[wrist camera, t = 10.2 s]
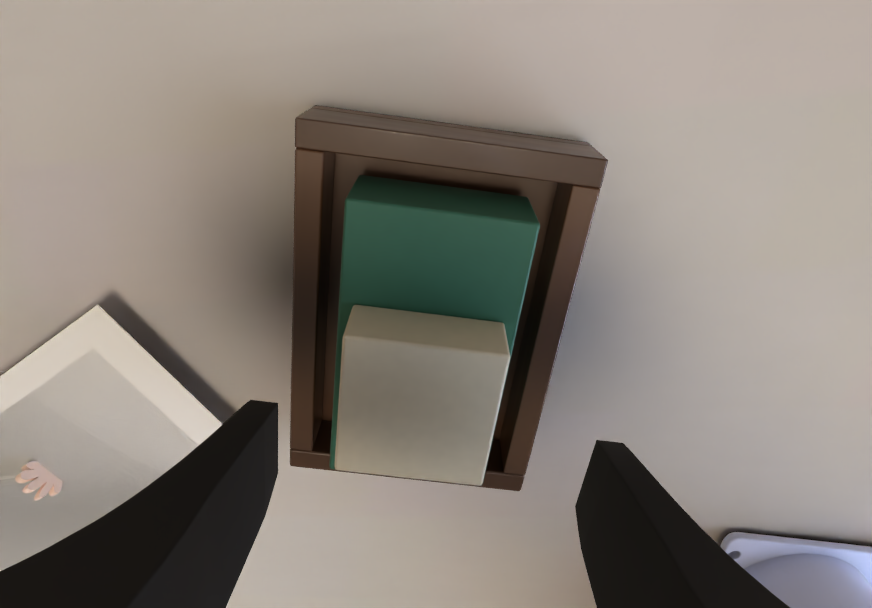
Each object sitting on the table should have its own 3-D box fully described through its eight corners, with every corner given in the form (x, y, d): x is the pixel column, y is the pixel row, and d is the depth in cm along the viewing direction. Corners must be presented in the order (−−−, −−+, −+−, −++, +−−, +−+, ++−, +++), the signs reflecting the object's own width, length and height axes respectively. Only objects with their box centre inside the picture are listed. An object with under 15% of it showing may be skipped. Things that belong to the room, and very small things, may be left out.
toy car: (477, 420, 21) (486, 531, 17) (345, 405, 21) (316, 513, 17) (524, 188, 17) (553, 249, 13) (362, 166, 17) (331, 220, 13)
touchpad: (264, 437, 23) (247, 476, 21) (25, 575, 27) (-8, 618, 25) (114, 290, 20) (78, 319, 18) (-128, 468, 24) (-178, 508, 22)
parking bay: (514, 447, 23) (521, 492, 21) (304, 424, 22) (288, 466, 20) (588, 142, 17) (608, 159, 15) (314, 104, 17) (295, 116, 15)
